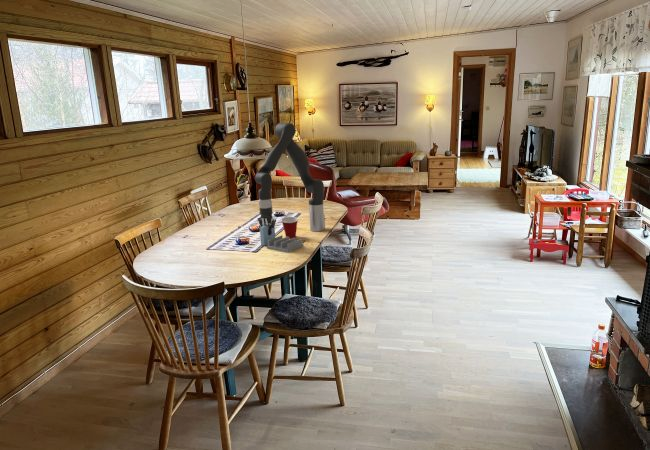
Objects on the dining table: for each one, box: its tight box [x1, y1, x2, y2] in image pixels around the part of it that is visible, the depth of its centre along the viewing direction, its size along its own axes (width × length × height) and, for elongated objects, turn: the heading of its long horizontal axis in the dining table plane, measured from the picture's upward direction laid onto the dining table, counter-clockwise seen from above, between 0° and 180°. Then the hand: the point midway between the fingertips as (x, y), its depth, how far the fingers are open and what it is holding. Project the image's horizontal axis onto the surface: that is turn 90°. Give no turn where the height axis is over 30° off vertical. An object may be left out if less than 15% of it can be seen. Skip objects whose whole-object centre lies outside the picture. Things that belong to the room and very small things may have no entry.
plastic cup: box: [280, 216, 299, 239], centre depth 292 cm, size 11×11×12 cm
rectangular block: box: [259, 225, 276, 247], centre depth 282 cm, size 10×2×11 cm, turn 144°
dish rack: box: [266, 235, 304, 253], centre depth 274 cm, size 14×16×4 cm
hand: (268, 234), depth 282 cm, fingers closed on rectangular block, 2 cm apart
